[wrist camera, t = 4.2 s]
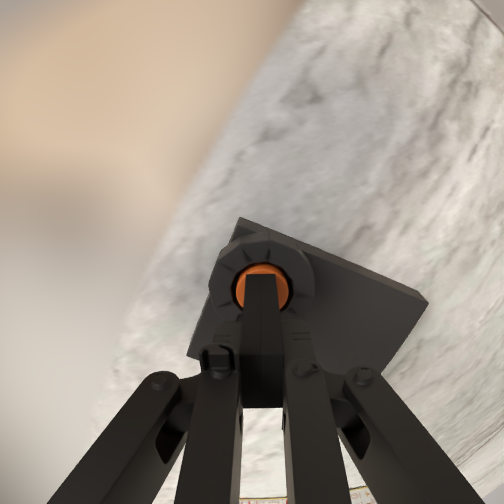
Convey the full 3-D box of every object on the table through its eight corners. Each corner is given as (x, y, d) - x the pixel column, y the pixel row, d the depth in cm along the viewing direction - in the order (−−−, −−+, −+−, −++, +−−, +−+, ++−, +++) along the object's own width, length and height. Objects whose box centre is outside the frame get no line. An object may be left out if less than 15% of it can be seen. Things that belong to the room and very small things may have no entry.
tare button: (230, 292, 18) (228, 305, 17) (248, 251, 17) (247, 261, 16) (274, 308, 19) (275, 322, 17) (294, 268, 18) (297, 280, 16)
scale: (186, 338, 22) (176, 369, 19) (236, 209, 19) (231, 224, 16) (351, 388, 24) (360, 417, 21) (420, 287, 20) (442, 310, 17)
